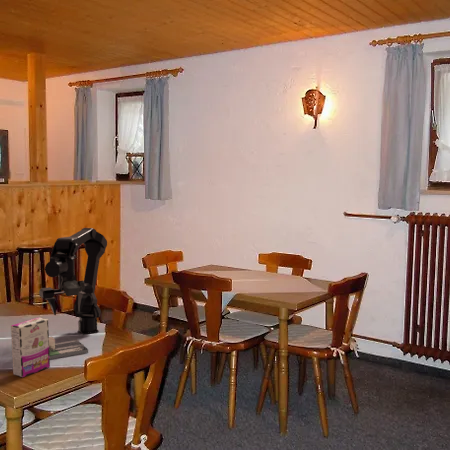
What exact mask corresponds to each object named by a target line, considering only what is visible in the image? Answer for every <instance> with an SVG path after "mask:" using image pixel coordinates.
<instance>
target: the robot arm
mask: <svg viewBox="0 0 450 450" xmlns="http://www.w3.org/2000/svg"><path fill="white" fill-rule="evenodd" d="M81 245H84V251H85V253H86V255H87V260H86V265H85V272H84V278H83V280H78V281H77V277H76V274H75V273H76V272H75V271H76V270H75V269H76V268H75V259H77V255H76V252H78V251H79V247H80V246H81ZM107 246H108V240H107V238H106V237H105V236H104V234H101V232H98V231H97V229H95V228H92V227H83V228H81V230H79V231H78V232H75V233H74V234H72V235H70V236H63V237H58V238H57V239H55V242H54V244H53V247H52V251H51V253H50V256H49V257H50V258H49V261H48V262H47V263H46V265H45V266H44V272H45V273H46V275H47V276H48V277H50V278H56V277H58V285H57V288H56V289H53V288H52V287H41V288H40V289H39V292H38V293H39V297H40V298H42V299H44V300H46V301H47V302H48V304H49V306H50V308H51V310H52V313H53V315H54V316H56V315H57V310H56V297H55V295H63V294H65V296H66V297H71V296H76V297H75V302H74V306H73V309H74V313H75V318H79V320H78V321H77V322H78V323H77V324H78V331H79V333H81V334H82V335H86V334H87V335H88V334H94V333H98V332H100V331H99V330H98V318H100V317H101V313H102V311H101V308H100V307H99V305H98V298H97V297H96V294H95V293H96V291H95V290H96V285H97V278H98V273H99V272H98V271H99V265H100V260H101V258H102V257H103V256H104V254H105V253H106V248H107Z"/></svg>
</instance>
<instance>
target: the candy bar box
mask: <svg viewBox="0 0 450 450" xmlns="http://www.w3.org/2000/svg"><path fill="white" fill-rule="evenodd" d="M10 334H11V337H10V338H11V351H12V352H11V355H12V357H11V358H12V373H13V376H17V377H19V378H24V377H27V376H31V375H32V374H35V373H39V372H40V371H43V370H45V369H48V368H50V367H51V361H50V360H51V359H50V355H49V337H50V335H49V334H50V333H49V318H43V317H40V316H39V317H35V318H32V319H28V320H26V321H22V322H17V323H15V324H11V325H10Z"/></svg>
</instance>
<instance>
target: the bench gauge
mask: <svg viewBox="0 0 450 450" xmlns="http://www.w3.org/2000/svg"><path fill="white" fill-rule="evenodd" d="M88 353H89V349H88V348H87V347H86V346H85V344H83V343H82V342H80V340H78V339H71V340H66V341H62V342H61V341H60V342H55V349H53V351H51V350H49V355H50V360H56V359H60V358H66V357H71V356H77V355H82V354H83V355H84V354H88Z"/></svg>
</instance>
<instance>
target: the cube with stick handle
mask: <svg viewBox="0 0 450 450" xmlns="http://www.w3.org/2000/svg"><path fill="white" fill-rule="evenodd" d="M55 343H56V340H55V338H54V337H53V336H49V350H51V351H53V349H55Z"/></svg>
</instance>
